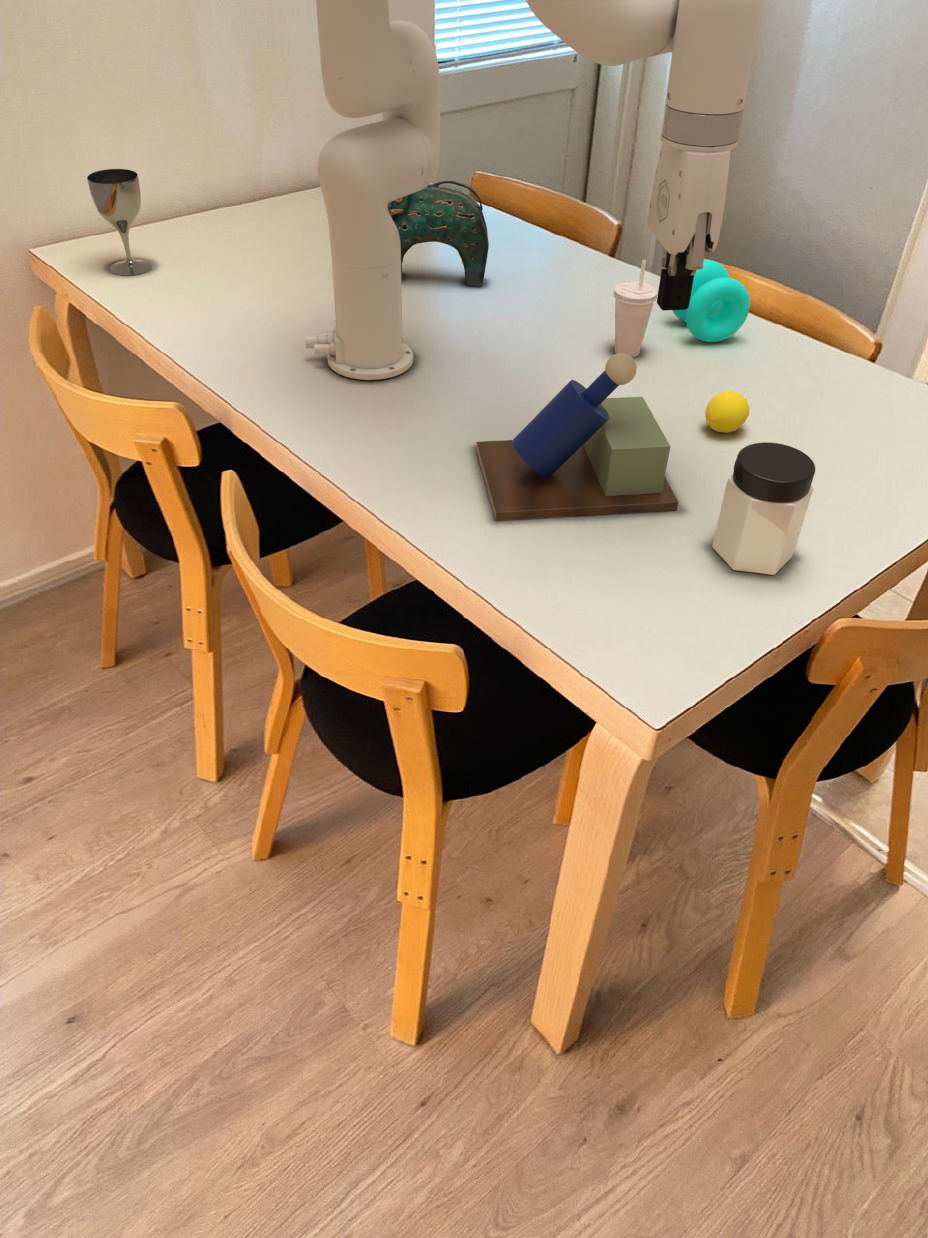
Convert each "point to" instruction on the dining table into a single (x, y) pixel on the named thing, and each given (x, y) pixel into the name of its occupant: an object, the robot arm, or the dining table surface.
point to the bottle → (571, 418)
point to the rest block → (629, 449)
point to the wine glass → (119, 210)
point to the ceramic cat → (445, 224)
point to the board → (555, 488)
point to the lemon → (727, 411)
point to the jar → (764, 507)
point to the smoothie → (632, 313)
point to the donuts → (715, 304)
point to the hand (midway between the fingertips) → (672, 306)
